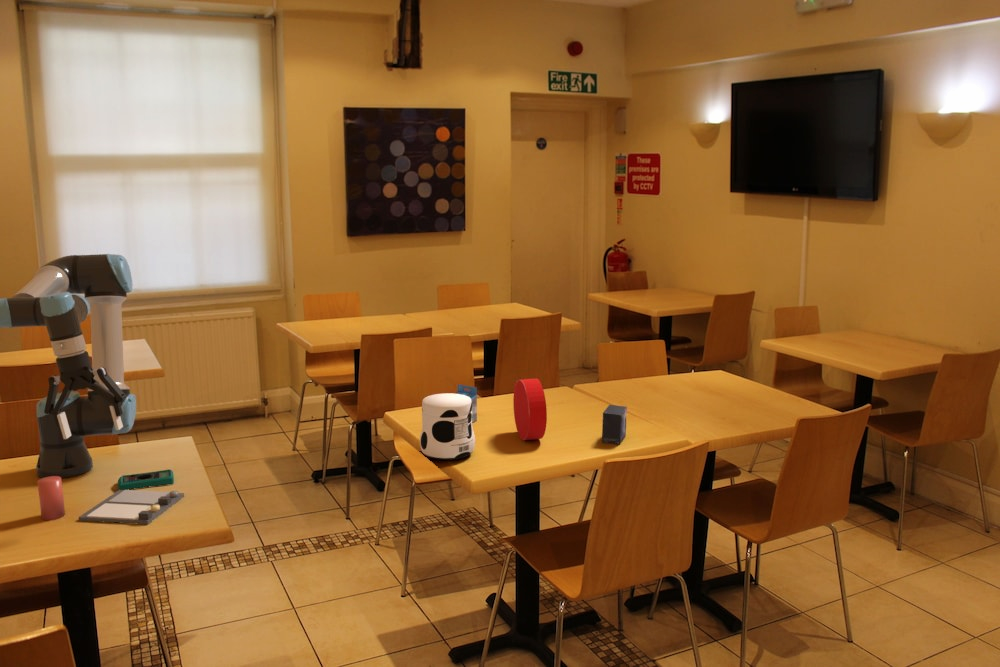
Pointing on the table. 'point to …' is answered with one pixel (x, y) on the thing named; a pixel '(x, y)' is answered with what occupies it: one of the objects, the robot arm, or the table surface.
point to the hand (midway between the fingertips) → (93, 433)
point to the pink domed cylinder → (51, 498)
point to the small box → (614, 424)
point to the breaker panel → (132, 506)
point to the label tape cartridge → (472, 395)
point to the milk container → (447, 426)
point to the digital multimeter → (146, 479)
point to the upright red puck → (530, 409)
